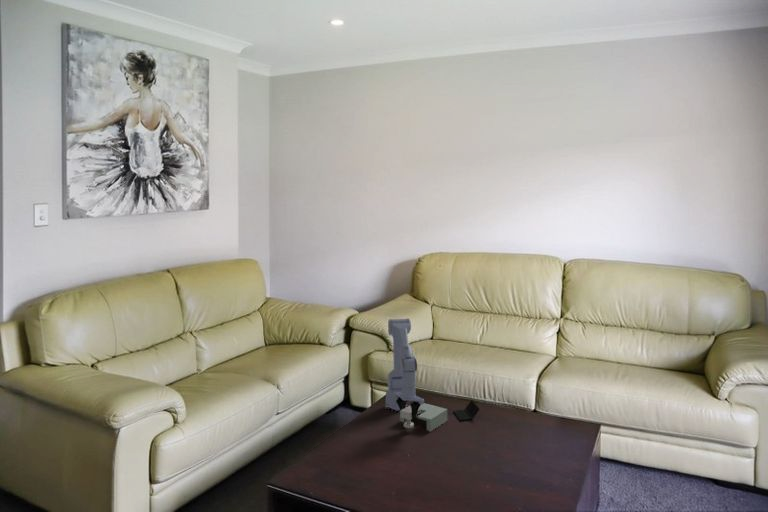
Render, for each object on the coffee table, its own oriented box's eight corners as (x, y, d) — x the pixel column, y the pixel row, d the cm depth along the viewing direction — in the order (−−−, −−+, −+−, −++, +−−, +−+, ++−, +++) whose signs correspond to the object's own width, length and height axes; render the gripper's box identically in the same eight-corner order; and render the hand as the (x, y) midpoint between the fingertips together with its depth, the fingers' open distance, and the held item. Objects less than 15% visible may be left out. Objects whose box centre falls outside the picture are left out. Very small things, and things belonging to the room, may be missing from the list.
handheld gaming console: (449, 409, 267) (462, 392, 266) (459, 416, 270) (472, 399, 269) (459, 422, 256) (473, 405, 256) (470, 429, 259) (484, 412, 259)
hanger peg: (400, 426, 247) (400, 410, 246) (407, 422, 251) (407, 406, 250) (410, 429, 244) (410, 413, 243) (416, 425, 248) (416, 409, 247)
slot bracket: (400, 422, 256) (400, 410, 255) (417, 412, 267) (417, 401, 266) (430, 431, 246) (430, 419, 246) (447, 420, 258) (447, 409, 257)
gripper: (389, 385, 246) (389, 415, 248) (417, 392, 237) (417, 423, 239) (399, 380, 252) (399, 410, 253) (426, 387, 243) (426, 418, 245)
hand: (408, 416), depth 247 cm, fingers closed on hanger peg, 5 cm apart
